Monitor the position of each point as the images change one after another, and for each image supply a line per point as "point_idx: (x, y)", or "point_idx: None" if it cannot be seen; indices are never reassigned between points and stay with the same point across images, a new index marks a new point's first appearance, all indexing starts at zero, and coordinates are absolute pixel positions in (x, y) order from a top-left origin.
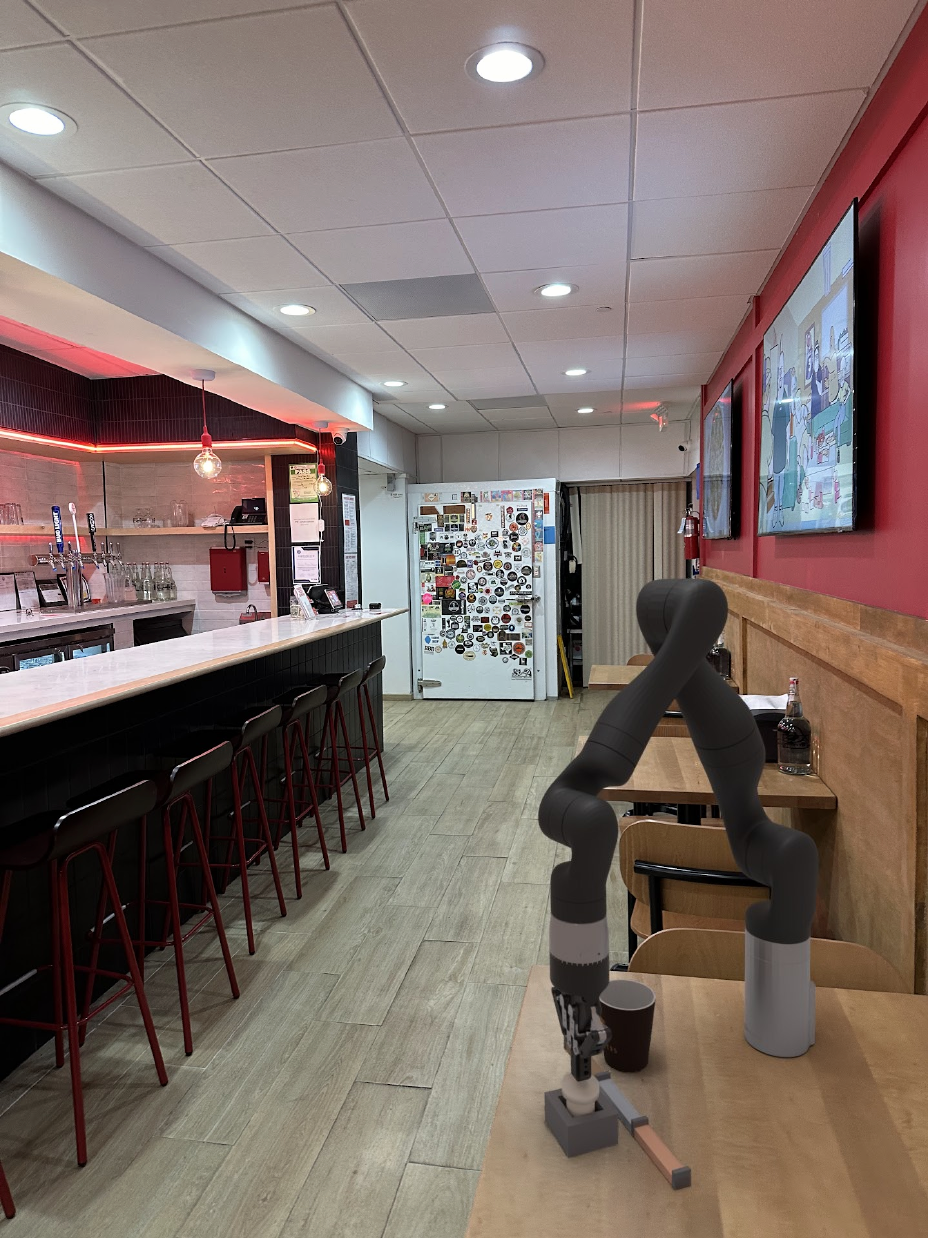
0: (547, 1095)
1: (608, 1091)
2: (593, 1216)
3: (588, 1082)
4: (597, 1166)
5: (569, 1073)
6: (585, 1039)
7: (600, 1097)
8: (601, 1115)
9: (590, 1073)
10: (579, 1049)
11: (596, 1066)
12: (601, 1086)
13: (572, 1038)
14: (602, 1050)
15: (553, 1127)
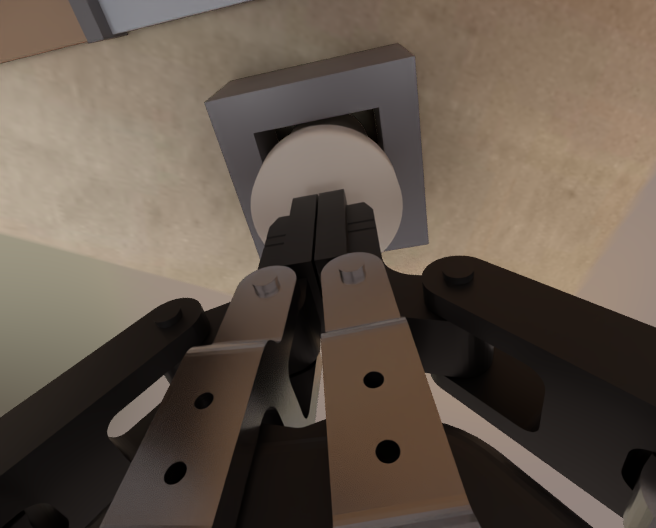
0: None
1: (169, 5)
2: (605, 191)
3: (325, 180)
4: (462, 136)
5: (260, 236)
6: (590, 493)
7: (308, 100)
8: (406, 126)
9: (372, 213)
10: (438, 381)
11: (11, 6)
12: (140, 25)
13: (315, 388)
14: (540, 286)
15: None
